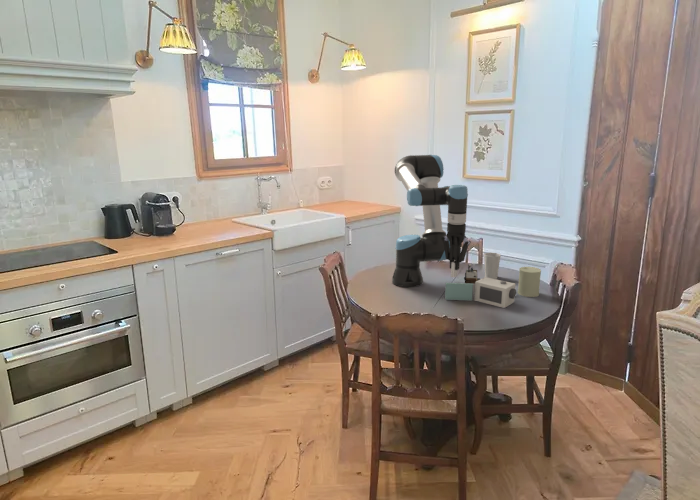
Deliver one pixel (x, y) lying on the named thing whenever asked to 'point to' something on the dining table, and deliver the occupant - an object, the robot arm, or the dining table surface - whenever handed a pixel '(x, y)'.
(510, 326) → the dining table surface
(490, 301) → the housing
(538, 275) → the can
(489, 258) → the cup
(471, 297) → the side door
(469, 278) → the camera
